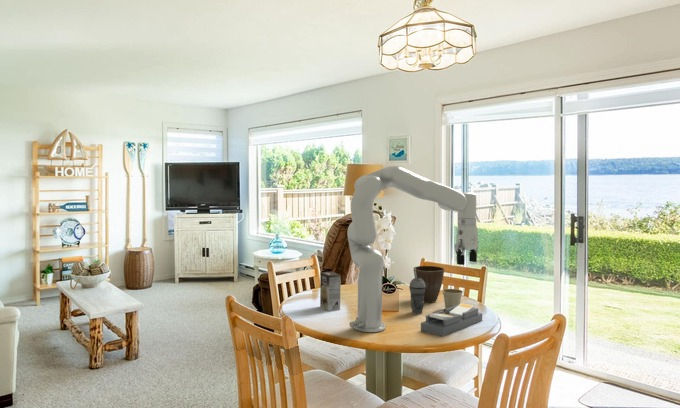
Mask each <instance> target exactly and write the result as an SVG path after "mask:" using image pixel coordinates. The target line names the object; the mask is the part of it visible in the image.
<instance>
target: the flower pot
mask: <svg viewBox="0 0 680 408" xmlns="http://www.w3.org/2000/svg"><path fill="white" fill-rule="evenodd" d="M441 292H442V295H443V299H444V309H448V308H451V307H454V306H457V305H460V304H461V301H462V296H463V293H464V291H463V290H462V289H458V288H444V289H442V290H441Z"/></svg>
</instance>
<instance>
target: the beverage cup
mask: <svg viewBox="0 0 680 408" xmlns="http://www.w3.org/2000/svg"><path fill="white" fill-rule="evenodd" d="M413 268H414V267H413ZM414 269H415V276H414V278H413V279H412V278H411V281H410V282H409V286H408V287H409V291H410V305H411V313H412V314H415V315H422V314H423V310H424V303H425V302H424V292H425V288H426V286H425V282H424V281H423V280H422V279H421V278H417V276H416V268H414ZM414 269H413V270H414Z"/></svg>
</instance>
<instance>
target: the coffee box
mask: <svg viewBox="0 0 680 408" xmlns="http://www.w3.org/2000/svg"><path fill="white" fill-rule="evenodd" d="M319 273H320V275H319V277H320V280H319V281H320V287H319V288H320V290H319V291H320V292H319V293H320V297H319V301H320V302H319V307H320V308H322V309H324V310H326V311H327V312H333V311H340V310H341V287H342V286H341V282H342V281H341V279H342V276H341V274H339V273H336V272H333V271H322V272H319Z"/></svg>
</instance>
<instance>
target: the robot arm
mask: <svg viewBox="0 0 680 408" xmlns="http://www.w3.org/2000/svg"><path fill="white" fill-rule="evenodd" d="M353 187H354V192H353V195H352V197H351V200H350V213H351V222H350V224H349V225H348V227H347V240H348V246H349V252H350V256H351V257H350V258H351V261H352V262H353V264H354V265H355V267H357V268H359V272H358V277H357V317H355V320H354V321H350V322H349V323H348V325H349V327H350V328H353V329H354V330H356V331H359V332H362V333H363V332H364V333H377V332H383V331H385V330H386V324H385V323H384V322H382V321H383V320H382V315H383V313H382V312H383V309H382V307H383V305H382V303H383V275H384V274H383V273H384V268H385V266H384V265H385V260H384V256H383V254H382V253H381V252H380V251H379V250H378V249H376V248H374V247H373V246H372V244H374V243H375V242H376V239H377V238H378V237H377V236H378V232H377V229H376V223H375V218H374V217H375V216H374V211H373V210H374V209H373V207H374V206H373V205H374V202H375V199H376V198H377V197H378V196H379V195H380V194H381V192H382V191H384V190H386V189H390V188H395V189H396V190H399V191H401V192H403V193H405V194H409V196H413V197H415V198H417V199H420V200H424V201H430V202H433V203H437V205H438V207H439V208H440V209H442V210H444V211H449V212H450V211H451V212H457V229H456V230H457V231H456V243H455V244H454V250H455V255H456V265H460V266H464V265H465V252H466V251H468V253H469V254H468V255H469V259H468V260H469V262H472V263H477V261H478V260H477V259H478V248H479V243H480V241H479V231H478V226H477V194H476V192H475V193H474V192H461V191H458V190H456V189H453V188H452V187H450V186H448V185H444V184H442V183H440V182H436V181H433V180H431V179H428V178H426V177H424V176H421V175H419V174H417V173H414V172H413V171H411V170H409V169H406V168H404V167H402V166H398V165H393V166H386V167H383V168H381V169H378V170H376V171H373V172H370V173H367V174H365V175H362V176H360V177H358V178H357V179H356V180H355V182H354V185H353Z"/></svg>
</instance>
